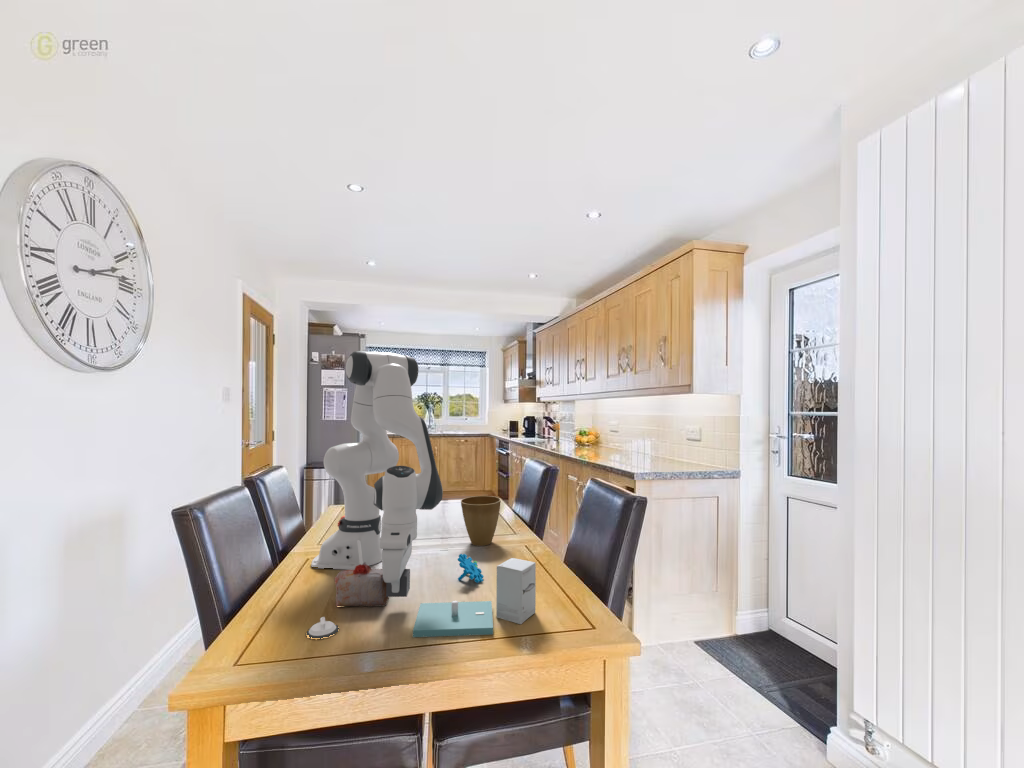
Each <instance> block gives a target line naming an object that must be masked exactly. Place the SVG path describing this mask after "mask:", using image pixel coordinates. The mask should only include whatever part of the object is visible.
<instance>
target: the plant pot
mask: <svg viewBox="0 0 1024 768" xmlns="http://www.w3.org/2000/svg"><path fill="white" fill-rule="evenodd" d="M501 501H502V499H501V498H500V497H498V496H493V495H491V496H490V495H476V496H469V497H465V498H462V499H461V500H460V506H461V512H462V517H463V521H464V526H465V528H466V531H467V535H468V538H469V540H470V542H471V545H473V546H476V547H477V546H478V547H485V546H488V545H490V544H492V542H493V539H494V536H495V533H496V529H497V525H498V522H499V521H498V520H499V516H500V515H499V514H500V509H501V503H502V502H501Z"/></svg>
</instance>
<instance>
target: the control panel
mask: <svg viewBox="0 0 1024 768" xmlns="http://www.w3.org/2000/svg"><path fill="white" fill-rule="evenodd" d="M492 602H493V601H491V600H485V601H482V600H481V601H477V600H475V601H458V600H452V601H451V602H450V601H449V602H445V601H444V602H423V603H422V602H421V603H420V604H419V607H418V612H417V615H416V618H415V621H414V626H413V627H412V628H413V630H412V638H430V637H457V636H461V637H462V636H483V635H484V636H485V635H486V636H487V635H494V621H493V619H494V618H493V604H492Z"/></svg>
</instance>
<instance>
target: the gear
mask: <svg viewBox="0 0 1024 768" xmlns="http://www.w3.org/2000/svg"><path fill="white" fill-rule="evenodd" d="M457 561H458V562H459V567H460V568H462V569H463V571H462V573H461V575H459V576H458V578H457V580H458V581H459V582H461V581H462V580H463V579H464V578H465V577H466V576H467V575H469V576H468V578H469V579H470V580H471V581H474V582H475V583H476V584H479V583H480V582H481V583H482V582H483V581H484V579H483V578H484V575H483V574H482V573H483V571H482V569H481V568H478V566H479V565H478V561H477V560H474V561H473V559H472V557H471V556H469V557H468V555H467V554H466V553H459V555H458V558H457Z"/></svg>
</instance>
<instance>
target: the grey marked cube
mask: <svg viewBox="0 0 1024 768" xmlns="http://www.w3.org/2000/svg"><path fill="white" fill-rule="evenodd" d="M410 585H411V569H410V568H405V569H404V571H403V573H402V576H401V578H400V590H399V592H398V593H393V592H392V584H391V583H386V597H389V598H402V597H403V598H406V597H408V594H409V591H410V589H411V588H410Z"/></svg>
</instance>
